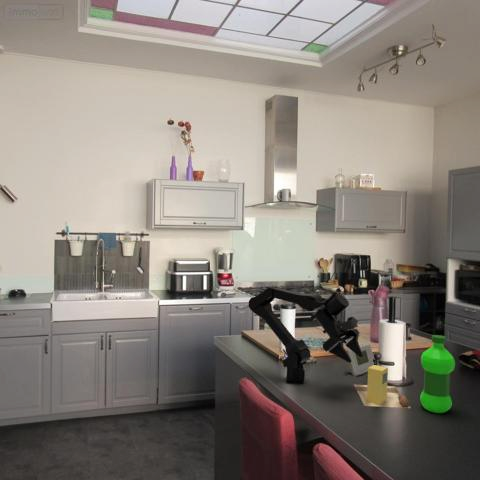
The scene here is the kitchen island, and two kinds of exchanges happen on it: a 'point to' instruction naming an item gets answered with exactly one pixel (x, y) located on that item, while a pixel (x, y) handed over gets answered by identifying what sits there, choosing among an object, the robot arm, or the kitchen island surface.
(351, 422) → the kitchen island surface
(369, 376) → the tall mustard yellow pillar
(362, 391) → the panel
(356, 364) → the digital clock
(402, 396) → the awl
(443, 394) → the plastic bottle
